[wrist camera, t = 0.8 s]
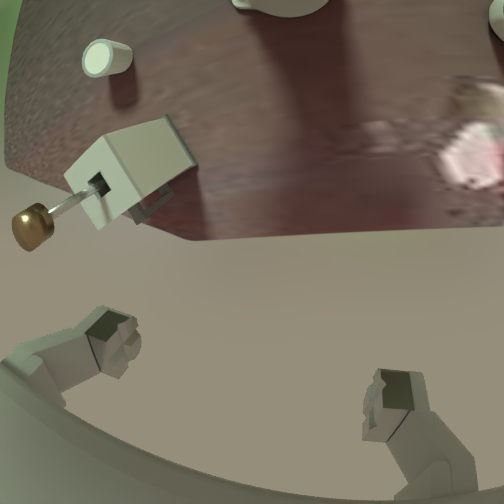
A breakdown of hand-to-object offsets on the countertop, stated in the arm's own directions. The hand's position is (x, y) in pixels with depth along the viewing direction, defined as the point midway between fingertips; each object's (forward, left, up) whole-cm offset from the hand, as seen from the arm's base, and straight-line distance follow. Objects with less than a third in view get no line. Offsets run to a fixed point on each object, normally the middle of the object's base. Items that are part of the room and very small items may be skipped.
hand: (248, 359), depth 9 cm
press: (-9, -23, -42) cm, 48 cm away
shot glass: (-30, -20, -42) cm, 55 cm away
